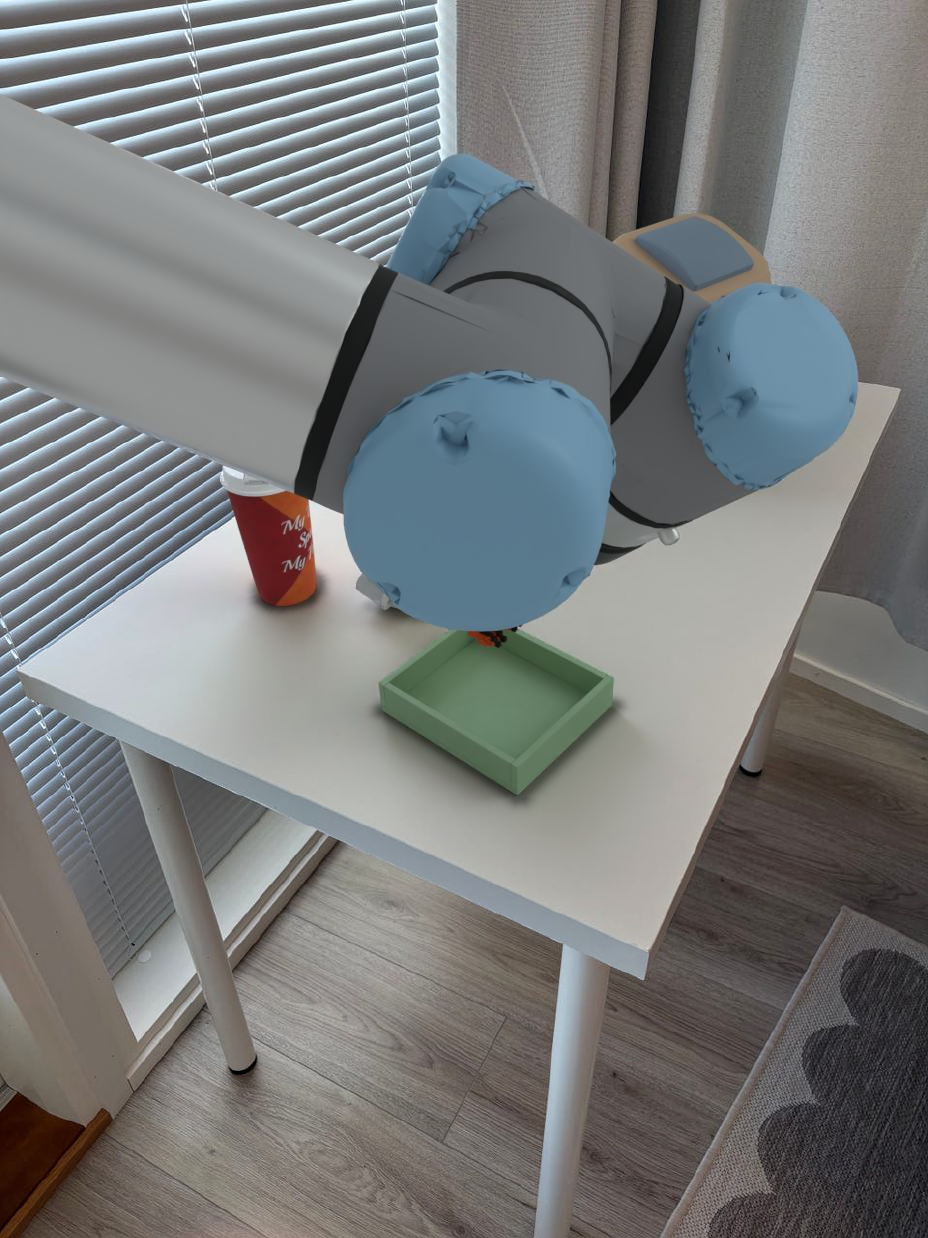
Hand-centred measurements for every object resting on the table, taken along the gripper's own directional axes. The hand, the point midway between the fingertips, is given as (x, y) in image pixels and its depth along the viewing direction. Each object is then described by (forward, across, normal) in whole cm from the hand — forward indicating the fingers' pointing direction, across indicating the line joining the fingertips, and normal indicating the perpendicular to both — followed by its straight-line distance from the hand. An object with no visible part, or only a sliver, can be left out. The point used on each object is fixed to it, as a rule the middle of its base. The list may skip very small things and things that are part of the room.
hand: (470, 576), depth 72 cm
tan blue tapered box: (+25, +41, +8) cm, 48 cm away
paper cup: (+23, -8, +7) cm, 26 cm away
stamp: (+18, +1, +2) cm, 18 cm away
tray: (+6, 0, -10) cm, 12 cm away
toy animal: (0, +1, -5) cm, 5 cm away
